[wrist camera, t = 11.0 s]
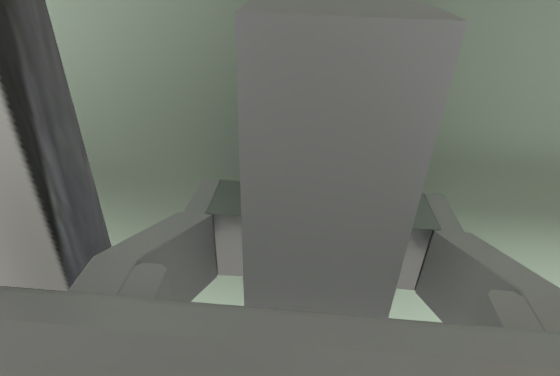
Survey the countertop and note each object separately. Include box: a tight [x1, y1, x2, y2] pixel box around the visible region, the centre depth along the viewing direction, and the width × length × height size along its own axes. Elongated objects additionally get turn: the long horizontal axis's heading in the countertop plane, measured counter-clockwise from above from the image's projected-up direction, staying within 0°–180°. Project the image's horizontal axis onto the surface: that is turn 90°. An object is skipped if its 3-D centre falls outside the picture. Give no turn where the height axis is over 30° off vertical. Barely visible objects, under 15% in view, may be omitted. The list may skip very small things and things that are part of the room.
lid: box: [45, 0, 560, 323], centre depth 10 cm, size 14×21×5 cm
